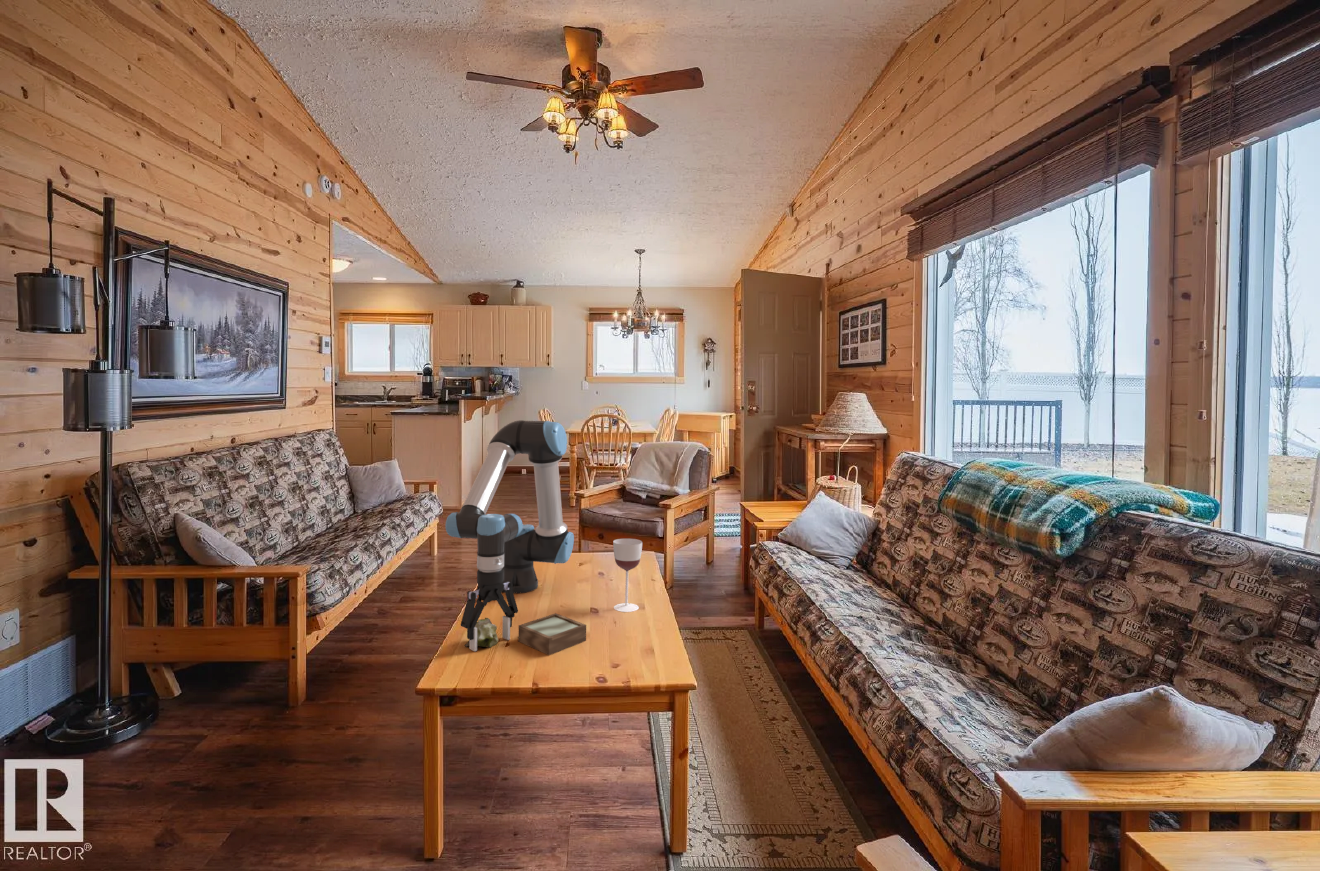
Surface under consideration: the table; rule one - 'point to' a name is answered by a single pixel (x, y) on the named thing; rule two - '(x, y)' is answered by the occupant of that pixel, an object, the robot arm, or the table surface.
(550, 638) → the stand
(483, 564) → the robot arm
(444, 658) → the table surface
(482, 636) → the fruit
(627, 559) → the wineglass
